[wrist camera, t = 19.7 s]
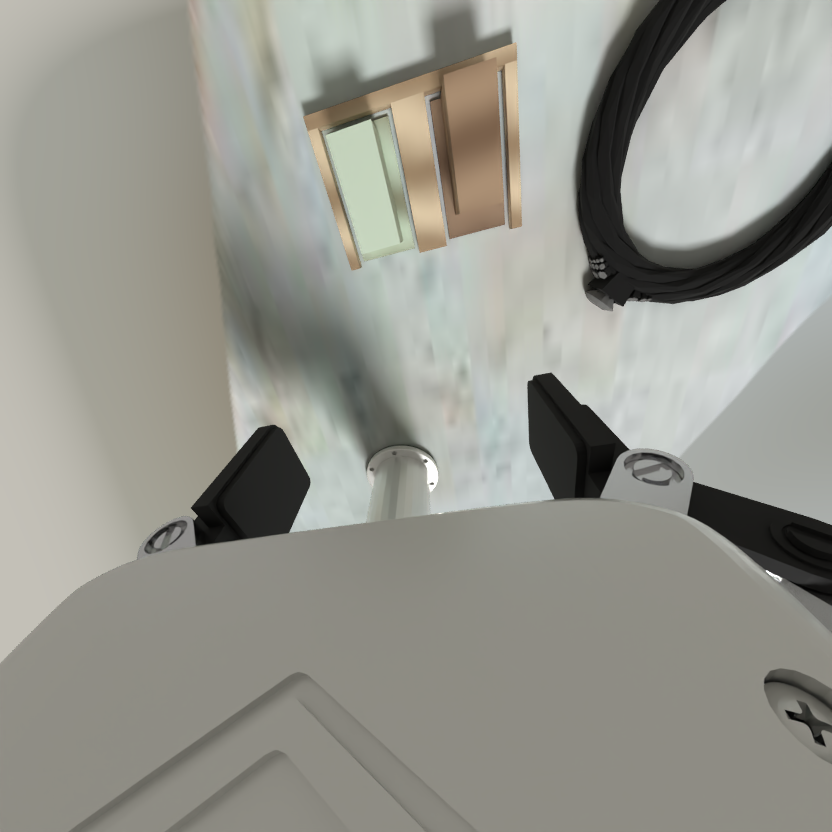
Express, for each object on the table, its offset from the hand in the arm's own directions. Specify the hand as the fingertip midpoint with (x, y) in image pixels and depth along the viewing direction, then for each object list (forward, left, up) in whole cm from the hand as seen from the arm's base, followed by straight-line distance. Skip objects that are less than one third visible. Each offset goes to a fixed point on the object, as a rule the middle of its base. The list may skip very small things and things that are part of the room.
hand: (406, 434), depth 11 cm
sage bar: (+10, +3, -29) cm, 31 cm away
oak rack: (+10, -2, -30) cm, 31 cm away
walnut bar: (+11, -7, -29) cm, 32 cm away
